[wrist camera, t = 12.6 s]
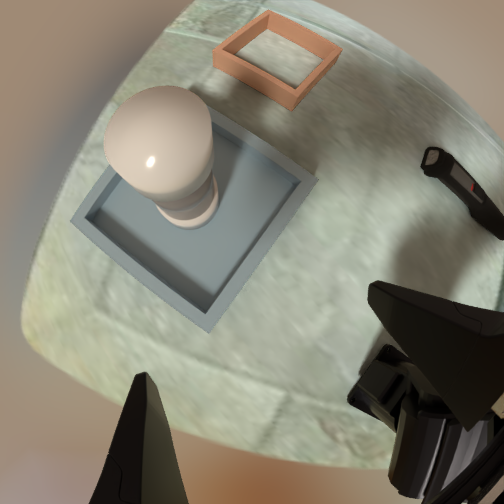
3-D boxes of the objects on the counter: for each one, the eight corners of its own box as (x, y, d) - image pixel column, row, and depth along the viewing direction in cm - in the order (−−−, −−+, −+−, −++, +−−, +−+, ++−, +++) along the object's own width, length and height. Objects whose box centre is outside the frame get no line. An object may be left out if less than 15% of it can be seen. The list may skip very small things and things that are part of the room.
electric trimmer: (495, 250, 26) (513, 248, 23) (417, 171, 25) (435, 162, 22) (500, 225, 27) (517, 221, 24) (425, 146, 26) (442, 136, 23)
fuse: (230, 195, 22) (234, 116, 10) (196, 241, 22) (161, 205, 10) (186, 165, 22) (153, 72, 10) (152, 208, 22) (84, 147, 10)
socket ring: (335, 62, 25) (342, 49, 23) (291, 111, 24) (297, 97, 22) (265, 24, 25) (268, 9, 23) (213, 66, 24) (212, 50, 22)
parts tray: (309, 188, 24) (318, 179, 21) (210, 327, 22) (208, 333, 20) (181, 103, 24) (177, 88, 21) (83, 225, 22) (69, 221, 20)
